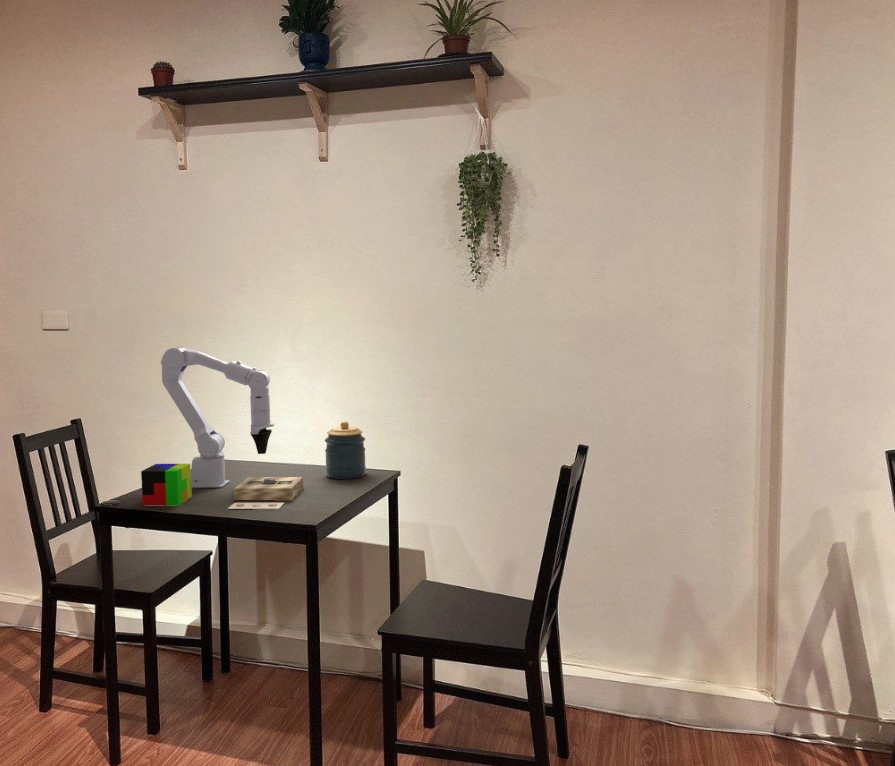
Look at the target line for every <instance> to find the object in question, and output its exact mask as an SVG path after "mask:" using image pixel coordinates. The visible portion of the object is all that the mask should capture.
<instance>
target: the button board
mask: <svg viewBox="0 0 895 766" xmlns="http://www.w3.org/2000/svg"><path fill="white" fill-rule="evenodd" d="M266 478H275V484H264V479H266ZM252 482H259V483H260V484H249V483H252ZM282 482H290V484H279V483H282ZM302 489H303V490H304V477H303V476H298V477H297V476H292V477H289V476H287V477H286V476H282V477H281V476H278V477H277V476H275V477H272V476H270V477H269V476H268V477H265V476H263V477H262V476H261V477H259V476H258V477H256V476H255V477H254V476H253V477H250V476H249V477H247V478H246V479H245V480H243V481H242V482H240V483H239V484H238V485H237V486H235V487H234V488H233V497H234V500H275V501H293V500H294V499H295V498H296V497H297V496H298V495H299V494H300V493H301V492H302V491H303V490H302ZM301 490H302V491H301ZM300 491H301V492H300ZM299 492H300V493H299ZM298 493H299V494H298ZM297 494H298V495H297ZM296 495H297V496H296ZM295 496H296V497H295ZM294 497H295V498H294ZM293 498H294V499H293Z"/></svg>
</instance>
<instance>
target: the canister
mask: <svg viewBox="0 0 895 766" xmlns="http://www.w3.org/2000/svg"><path fill="white" fill-rule="evenodd" d="M326 433H327V435H328V436H327V437H326V438H325V439H324V442H325V443H326V445H325V446H326V447H325V449H324V451H325V475H326V477H327V476H328V477H327V478H329V477H330V479H334V478H335V479H337V480H349V479H357V478H362V477H364V476H365V475H366V472H367V471H366V470H367V468H366V467H367V466H366V448H365V445H364V442H365V441H366V438H365V437H364V436H363V435H362V433H363V430H361V429H359V428H358V427H357V426H350V425H349V422H348V421H345V420H344V421H342V422H340V426H336V427H335V426H334V427H332V428H331V429H330V430H329V431H327V432H326Z"/></svg>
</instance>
